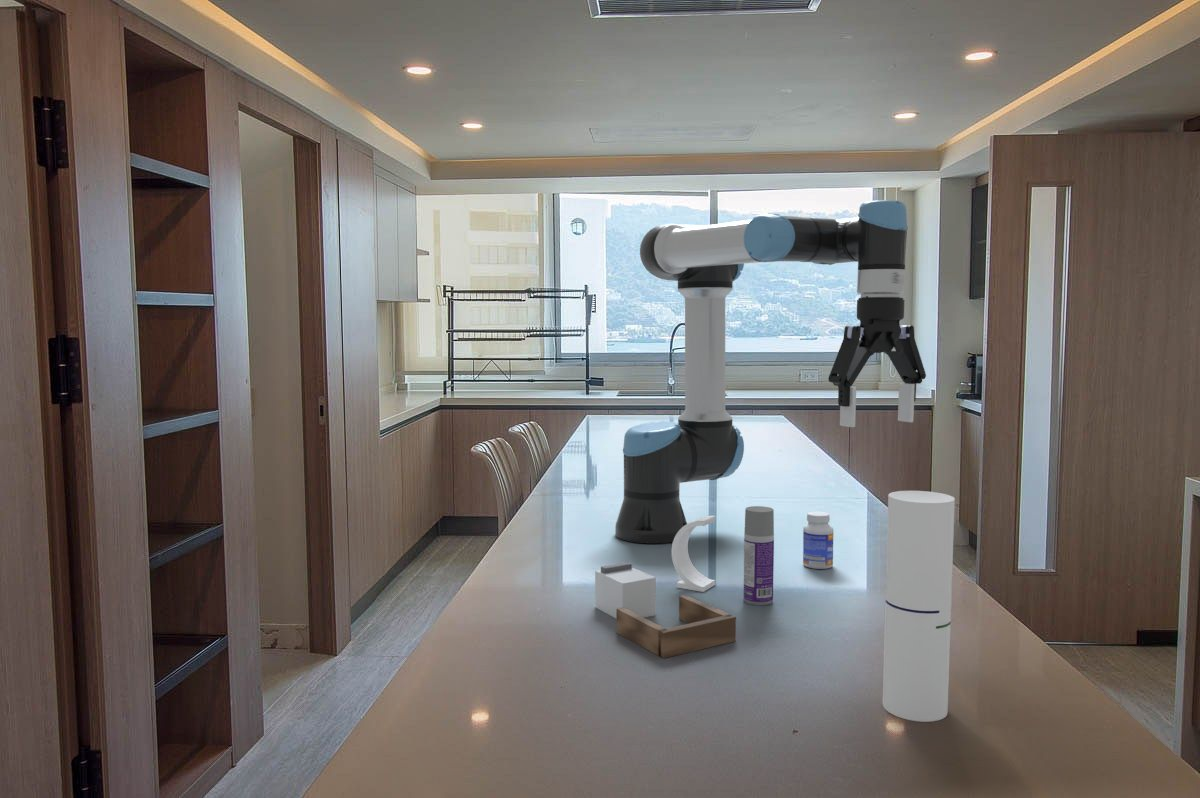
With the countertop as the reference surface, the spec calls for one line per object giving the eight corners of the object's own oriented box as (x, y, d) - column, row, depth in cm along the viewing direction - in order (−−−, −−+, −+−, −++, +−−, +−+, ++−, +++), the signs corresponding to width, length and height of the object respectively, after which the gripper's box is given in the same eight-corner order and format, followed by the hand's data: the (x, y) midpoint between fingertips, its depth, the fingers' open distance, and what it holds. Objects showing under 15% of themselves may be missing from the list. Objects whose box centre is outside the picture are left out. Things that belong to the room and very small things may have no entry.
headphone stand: (703, 592, 149) (704, 521, 148) (671, 586, 152) (671, 516, 151) (715, 585, 153) (715, 515, 152) (683, 579, 156) (683, 511, 155)
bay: (616, 632, 130) (616, 608, 130) (685, 617, 136) (685, 594, 136) (663, 658, 120) (663, 632, 120) (735, 641, 126) (735, 616, 126)
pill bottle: (833, 570, 161) (834, 517, 161) (802, 568, 163) (803, 516, 162) (832, 562, 167) (833, 511, 166) (802, 561, 168) (803, 509, 167)
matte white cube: (595, 608, 141) (595, 565, 141) (627, 601, 144) (627, 560, 144) (622, 622, 134) (622, 578, 134) (655, 615, 138) (655, 572, 137)
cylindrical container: (873, 696, 108) (878, 491, 106) (930, 694, 108) (937, 490, 106) (897, 722, 101) (904, 503, 98) (959, 720, 101) (966, 502, 99)
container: (774, 597, 146) (776, 507, 144) (770, 606, 141) (772, 513, 140) (746, 595, 147) (747, 505, 146) (741, 603, 143) (742, 510, 141)
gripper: (841, 295, 139) (838, 431, 141) (950, 296, 151) (946, 421, 153) (808, 296, 145) (805, 426, 147) (914, 297, 158) (911, 417, 160)
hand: (877, 424), depth 150 cm, fingers open, 13 cm apart
